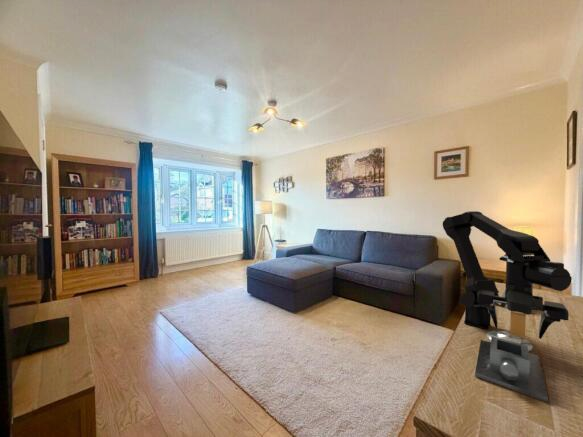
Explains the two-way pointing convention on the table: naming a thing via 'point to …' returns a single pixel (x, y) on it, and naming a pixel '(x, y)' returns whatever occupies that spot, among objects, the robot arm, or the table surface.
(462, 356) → the table surface
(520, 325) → the orange rectangular prism
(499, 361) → the bracket
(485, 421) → the table surface
